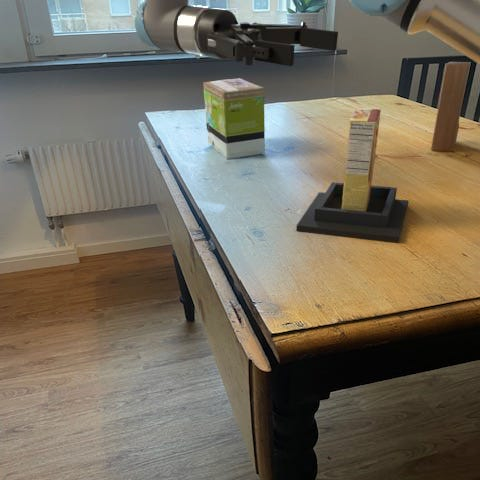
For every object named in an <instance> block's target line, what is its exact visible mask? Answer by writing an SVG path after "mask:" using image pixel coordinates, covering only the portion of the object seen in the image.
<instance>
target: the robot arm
mask: <svg viewBox="0 0 480 480" xmlns="http://www.w3.org/2000/svg"><path fill="white" fill-rule="evenodd" d="M348 1H349V3H350V4H351V5H352V6H353V8H355V9H357V10H358V11H359V12H360V13H362V14H364V15H369V16H371V17H381V18H383V19H384V20H386V21H387V22H389V23H391V24H392V25H393V26H394V27H397V28H398V29H400V30H402V31H403V32H405V33H406V34H408V35H409V36H411V35H415V34H418V33H422V32H428V33H429V34H431V35H432V36H434V37H436V38H438V39H439V40H441V41H442V42H444V43H445V44H447V45H448V46H450V47H452V48H453V49H455V50H456V51H458V52H459V53H461V54H462V55H464V56H466V57H467V58H468V59H470V60H472V61H473V62H474V63H477V65H480V0H348ZM134 28H135V32H136V34H137V36H138V38H139V40H140V41H141V43H143V44H145V45H147V46H149V47H153V48H156V49H158V50H161V51H171V52H177V53H183V54H191V55H195V56H194V57H195V58H196V59H200V58H202V57H207V58H212V59H218V60H227V59H230V60H232V61H235V62H237V63H240V62H243V61H244V60H245V61H244V62H245V63H244V64H245V66H253V65H254V61H256V62H263V63H270V64H275V65H280V66H287V67H293V66H294V60H295V46H296V45H299V46H300V47H304V48H312V49H317V50H324V51H332V52H335V51H337V48H338V47H337V46H338V38H339V31H336V30H328V29H327V30H326V29H319V28H310V27H308V25H307V22H306V21H301V24H279V23H278V24H276V23H275V24H273V23H260V22H259V23H258V22H252V23H250V22H248V21H244V22H238V20H237V17H236V16H235V14H234V13H233V12H232V11H231V10H230V9H227V8H226V9H225V8H216V7H210V6H202V5H192V4H189V0H145V1H142V2H141V3H140V4H139V5H138V7H137V9H136V14H135V17H134ZM201 56H202V57H201Z"/></svg>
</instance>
